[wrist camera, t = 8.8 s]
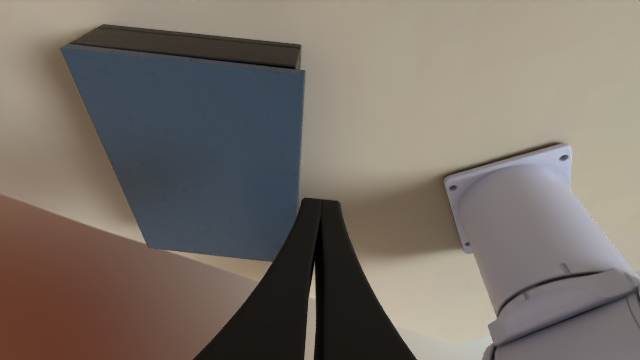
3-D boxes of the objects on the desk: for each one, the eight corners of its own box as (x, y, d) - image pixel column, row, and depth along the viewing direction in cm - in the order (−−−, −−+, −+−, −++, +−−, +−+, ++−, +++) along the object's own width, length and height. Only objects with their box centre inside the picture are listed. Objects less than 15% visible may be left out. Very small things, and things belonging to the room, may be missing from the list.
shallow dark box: (301, 44, 18) (295, 66, 16) (293, 224, 28) (289, 253, 26) (103, 23, 18) (68, 42, 15) (167, 213, 28) (151, 241, 25)
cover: (305, 70, 15) (304, 75, 15) (294, 258, 25) (293, 264, 25) (67, 43, 15) (59, 47, 15) (151, 241, 25) (148, 248, 25)
